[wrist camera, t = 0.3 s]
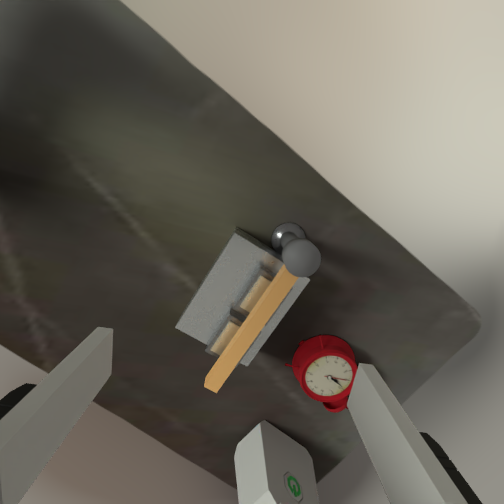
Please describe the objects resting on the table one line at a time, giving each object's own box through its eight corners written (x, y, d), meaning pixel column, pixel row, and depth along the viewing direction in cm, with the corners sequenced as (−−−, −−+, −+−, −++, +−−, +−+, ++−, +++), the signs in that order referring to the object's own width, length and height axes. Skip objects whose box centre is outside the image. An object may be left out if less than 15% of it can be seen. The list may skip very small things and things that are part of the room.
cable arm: (285, 221, 39) (298, 235, 29) (307, 235, 40) (328, 254, 30) (208, 336, 44) (195, 384, 33) (229, 348, 44) (223, 398, 34)
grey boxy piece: (183, 311, 43) (170, 336, 36) (254, 197, 39) (256, 200, 32) (247, 346, 45) (247, 377, 38) (322, 241, 41) (338, 253, 34)
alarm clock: (326, 329, 40) (399, 403, 40) (322, 315, 47) (385, 380, 46) (276, 372, 42) (345, 444, 42) (278, 353, 48) (338, 416, 48)
